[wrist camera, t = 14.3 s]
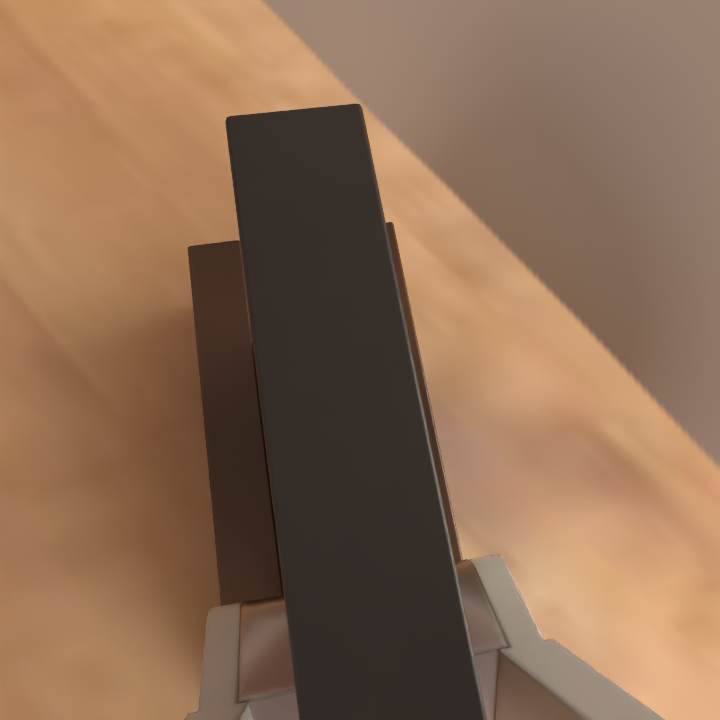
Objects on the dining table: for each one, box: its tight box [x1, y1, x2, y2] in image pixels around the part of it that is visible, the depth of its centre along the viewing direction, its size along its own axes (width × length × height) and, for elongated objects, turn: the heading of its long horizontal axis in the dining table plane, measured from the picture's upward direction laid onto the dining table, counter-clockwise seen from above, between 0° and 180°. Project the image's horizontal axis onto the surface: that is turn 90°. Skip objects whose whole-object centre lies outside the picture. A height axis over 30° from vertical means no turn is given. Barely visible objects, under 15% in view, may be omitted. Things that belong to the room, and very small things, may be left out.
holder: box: [188, 222, 463, 606], centre depth 16 cm, size 14×6×4 cm, turn 9°
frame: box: [225, 104, 487, 720], centre depth 11 cm, size 8×2×9 cm, turn 10°
